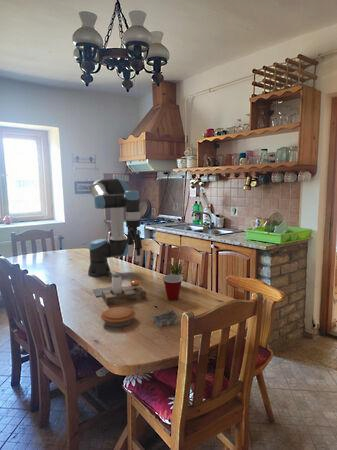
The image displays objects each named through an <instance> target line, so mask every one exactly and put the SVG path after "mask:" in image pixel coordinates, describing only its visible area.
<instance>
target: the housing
mask: <svg viewBox="0 0 337 450" xmlns="http://www.w3.org/2000/svg"><path fill="white" fill-rule="evenodd" d="M101 297H102V299H103V301H104V303H105V304H106V306H113V305H118V304H125V303H130V302H136V301H142V300H146V299H147V291H146V290H145V289H144V288H143V287H141V285H140V284H139V285H138V286H137V290H134V286H131V285H127V286H122V294H115V295H113V290H112V289H107V290H102V296H101Z"/></svg>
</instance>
